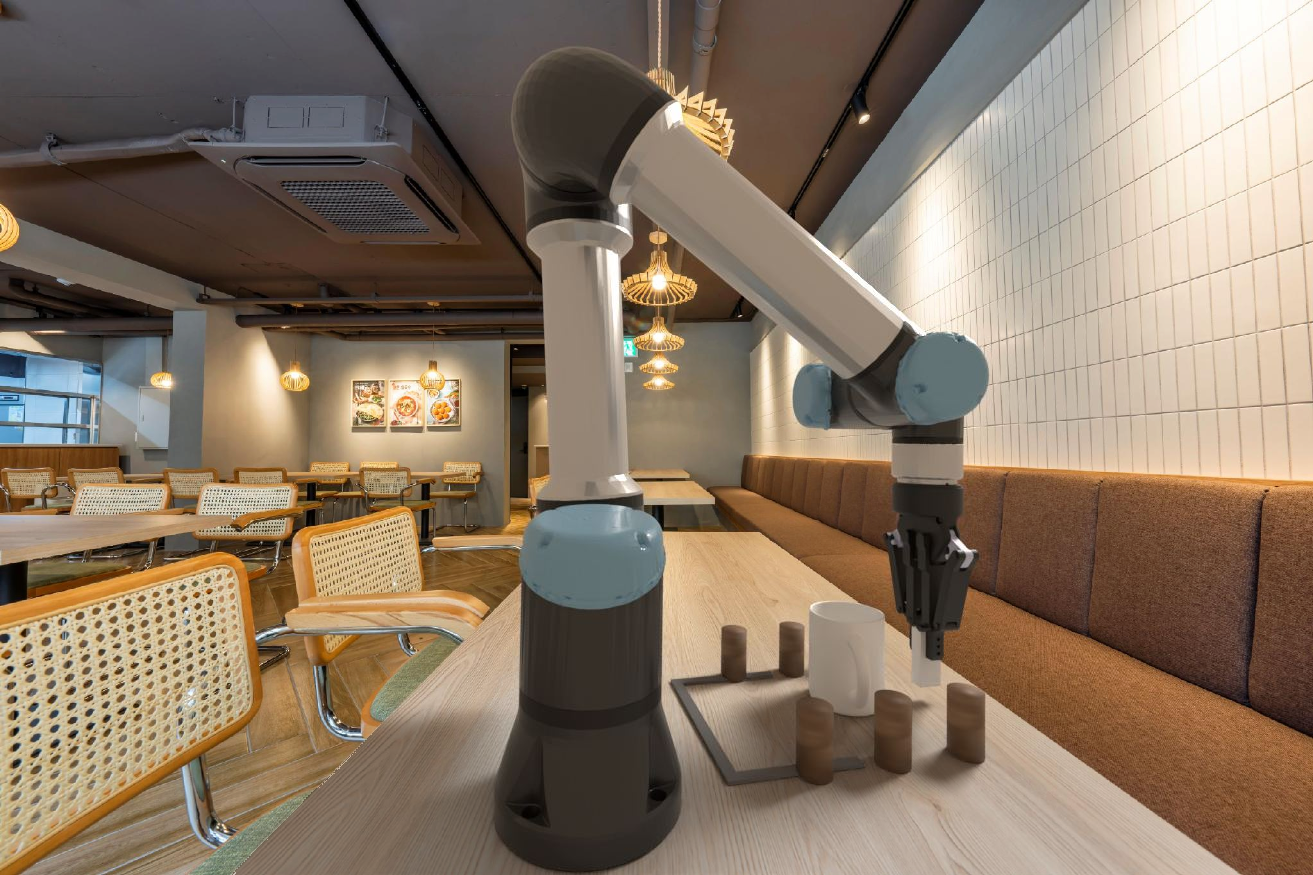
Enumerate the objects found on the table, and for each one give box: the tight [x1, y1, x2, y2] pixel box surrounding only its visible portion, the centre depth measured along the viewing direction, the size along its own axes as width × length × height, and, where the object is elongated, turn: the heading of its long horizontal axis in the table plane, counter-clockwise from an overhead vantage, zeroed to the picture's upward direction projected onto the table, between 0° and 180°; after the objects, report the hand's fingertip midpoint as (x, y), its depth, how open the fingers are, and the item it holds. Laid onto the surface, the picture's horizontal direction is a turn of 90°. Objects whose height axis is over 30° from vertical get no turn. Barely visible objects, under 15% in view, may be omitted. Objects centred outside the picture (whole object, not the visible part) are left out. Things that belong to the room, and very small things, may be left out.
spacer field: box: [720, 620, 986, 786], centre depth 58 cm, size 19×23×6 cm
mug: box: [808, 600, 886, 718], centre depth 59 cm, size 12×8×10 cm
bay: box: [670, 670, 866, 786], centre depth 56 cm, size 13×20×1 cm, turn 13°
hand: (925, 683), depth 61 cm, fingers closed
